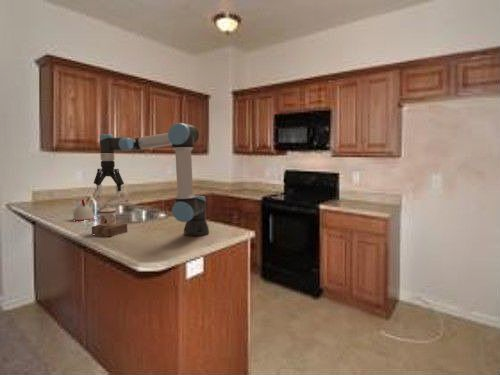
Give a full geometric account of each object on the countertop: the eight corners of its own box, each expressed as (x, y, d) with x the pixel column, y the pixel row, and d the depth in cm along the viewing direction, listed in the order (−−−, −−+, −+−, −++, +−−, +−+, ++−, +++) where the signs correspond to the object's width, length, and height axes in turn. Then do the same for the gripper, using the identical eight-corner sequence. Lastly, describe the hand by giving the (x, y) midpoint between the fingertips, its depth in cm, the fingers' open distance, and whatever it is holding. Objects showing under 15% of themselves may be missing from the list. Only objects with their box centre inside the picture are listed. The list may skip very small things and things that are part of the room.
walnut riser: (127, 231, 205) (127, 223, 204) (110, 237, 191) (110, 228, 191) (109, 230, 209) (108, 222, 209) (91, 235, 196) (91, 226, 196)
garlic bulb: (92, 217, 250) (91, 197, 248) (96, 220, 239) (95, 199, 237) (71, 219, 242) (70, 199, 240) (75, 222, 231) (74, 201, 229)
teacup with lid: (97, 225, 200) (96, 206, 198) (111, 222, 207) (110, 204, 206) (108, 228, 193) (107, 208, 191) (122, 225, 200) (121, 206, 199)
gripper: (86, 160, 197) (87, 196, 199) (120, 160, 188) (121, 197, 191) (95, 160, 204) (97, 194, 206) (129, 160, 196) (130, 196, 198)
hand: (109, 196), depth 198 cm, fingers open, 13 cm apart
